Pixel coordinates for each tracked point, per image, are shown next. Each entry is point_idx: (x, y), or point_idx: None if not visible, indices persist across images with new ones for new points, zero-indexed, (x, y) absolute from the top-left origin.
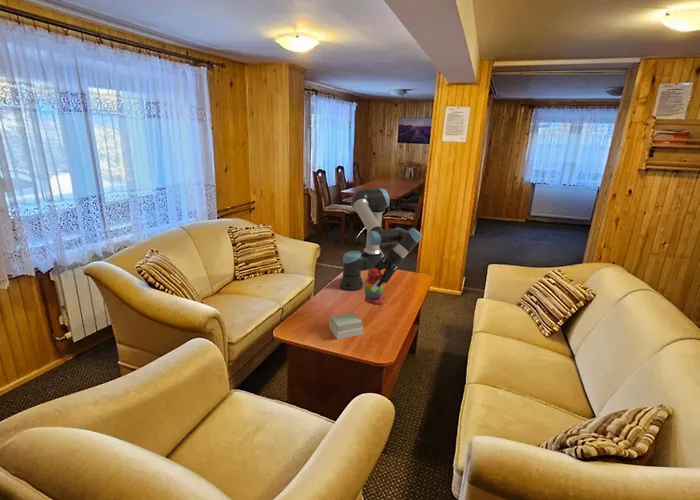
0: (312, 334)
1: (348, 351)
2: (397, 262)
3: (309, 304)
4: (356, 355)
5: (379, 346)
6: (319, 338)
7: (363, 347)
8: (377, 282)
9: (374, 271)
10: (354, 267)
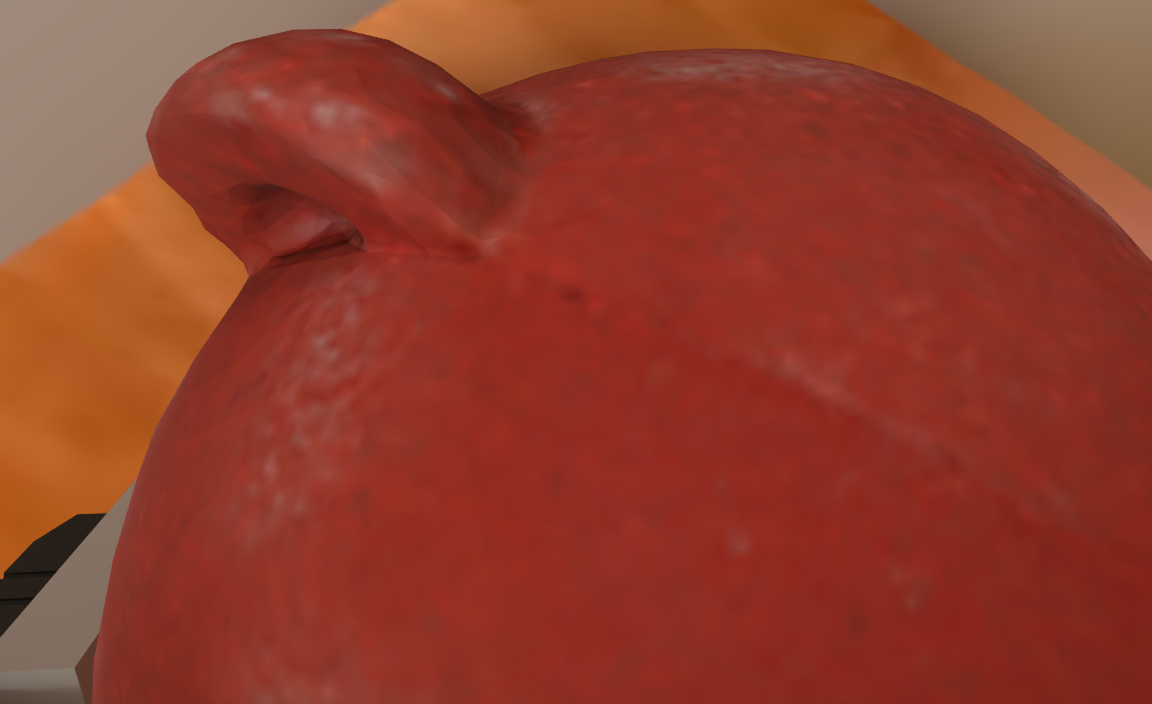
0: (536, 46)
1: (135, 208)
2: None
3: (1116, 166)
4: (34, 246)
5: (40, 517)
6: (452, 73)
7: (120, 353)
8: (97, 545)
9: (306, 277)
10: None
